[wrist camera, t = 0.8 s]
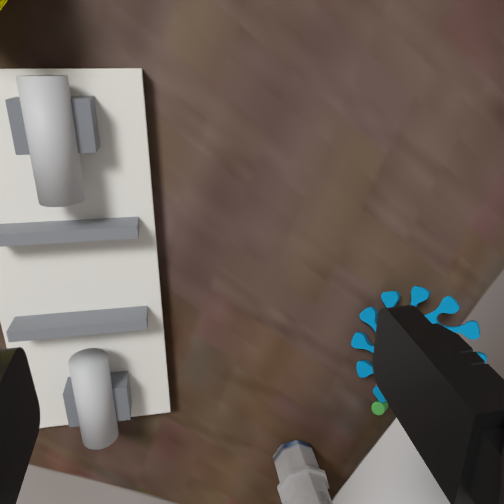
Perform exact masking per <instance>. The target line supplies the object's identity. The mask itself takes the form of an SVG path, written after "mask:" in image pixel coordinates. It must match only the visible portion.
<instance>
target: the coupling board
mask: <svg viewBox="0 0 504 504" xmlns="http://www.w3.org/2000/svg"><path fill="white" fill-rule="evenodd" d="M0 322H1V326H2V330H3V334H4V338H5V342H6V346H7V348H17V347H21V348H23V349H24V351H25V353H26V356H27V360H28V363H29V367H30V371H31V375H32V378H33V382H34V386H35V390H36V394H37V397H38V401H39V406H40V427H39V428H44V427H52V426H61V425H69V427H75V426H80V430H81V436H82V441H83V444H84V445H85V446H86V447H87V448H89V449H102V448H105V447H108V446H109V445H111V444H112V443H113V442H114V441H115V440H116V439H117V437H118V433H119V432H118V425H117V421H124V420H130V419H131V417H135V416H143V415H152V414H160V413H168V412H170V394H169V382H168V370H167V358H166V346H165V335H164V323H163V311H162V299H161V287H160V275H159V263H158V251H157V239H156V227H155V215H154V203H153V191H152V179H151V167H150V156H149V144H148V132H147V120H146V108H145V96H144V84H143V72H142V68H21V69H0Z"/></svg>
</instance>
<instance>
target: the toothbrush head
mask: <svg viewBox="0 0 504 504" xmlns="http://www.w3.org/2000/svg"><path fill="white" fill-rule="evenodd" d="M273 459H274V463H275V467H276V470H277V474H278V477H279V481H280V484H279V485H278V486H277V489H278V492H279V495H280V498H281V501H282V504H332V501H331V498H330V495H329V493H328V489H329V484H328V481H327V477H326V473H325V471H324V470H321V469H319V466H318V463H317V461H316V458H315V455H314V453H313V450H312V448H311V445H310V444H309V443H306V442H303V441H300V440H294V441H291V442H288V443H285V444H282V445H281V446H280V447H279V449H278V450H277V452H276V453H275V454H274V456H273Z"/></svg>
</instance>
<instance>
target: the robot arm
mask: <svg viewBox="0 0 504 504" xmlns="http://www.w3.org/2000/svg"><path fill="white" fill-rule="evenodd" d="M373 373H374V378H375V381H376V384H377V386H378V388H379V390H380V391H381V393H382V395H383V396H384V398H385V399H386V401H387V403H388V404H389V406H390V407H391V409H392V411H393V412H394V414H395V415H396V417H397V418H398V420H399V422H400V423H401V425H402V427H403V428H404V430H405V431H406V433H407V434H408V436H409V438H410V439H411V441H412V443H413V444H414V446H415V447H416V449H417V451H418V452H419V454H420V455H421V457H422V459H423V460H424V462H425V463H426V465H427V467H428V468H429V470H430V471H431V473H432V475H433V476H434V478H435V479H436V481H437V483H438V484H439V486H440V487H441V489H442V491H443V492H444V494H445V495H446V497H447V499H448V500H449V502H450V503H451V504H504V380H503V378H501V376H500V375H499V374H498V373H497V372H495V370H494V369H493V368H492V367H490V366H489V365H488V364H485V361H484V360H483V359H482V358H481V357H480V356H479V355H478V354H477V353H476V352H473V349H472V348H471V347H470V346H469V345H468V344H467V343H466V342H465V341H464V340H463V339H462V338H461V337H460V336H459V335H458V334H456V333H454V332H453V331H451V330H449V329H447V328H445V327H444V326H442V325H440V324H438V323H435V324H432V323H431V322H430V321H429V320H428V319H427V318H426V317H425V316H424V315H423V314H422V313H421V312H420V310H419V309H418V308H417V307H415V306H414V305H407V306H398V307H389V308H382V309H381V310H380V311H379V313H378V317H377V326H376V335H375V344H374V353H373ZM39 427H40V406H39V401H38V397H37V394H36V390H35V386H34V382H33V378H32V375H31V371H30V367H29V363H28V360H27V356H26V353H25V351H24V349H23V348H21V347H17V348H7V349H0V504H16V501H17V498H18V495H19V492H20V489H21V486H22V482H23V479H24V476H25V473H26V470H27V467H28V464H29V461H30V458H31V454H32V451H33V448H34V445H35V442H36V439H37V436H38V432H39Z"/></svg>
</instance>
